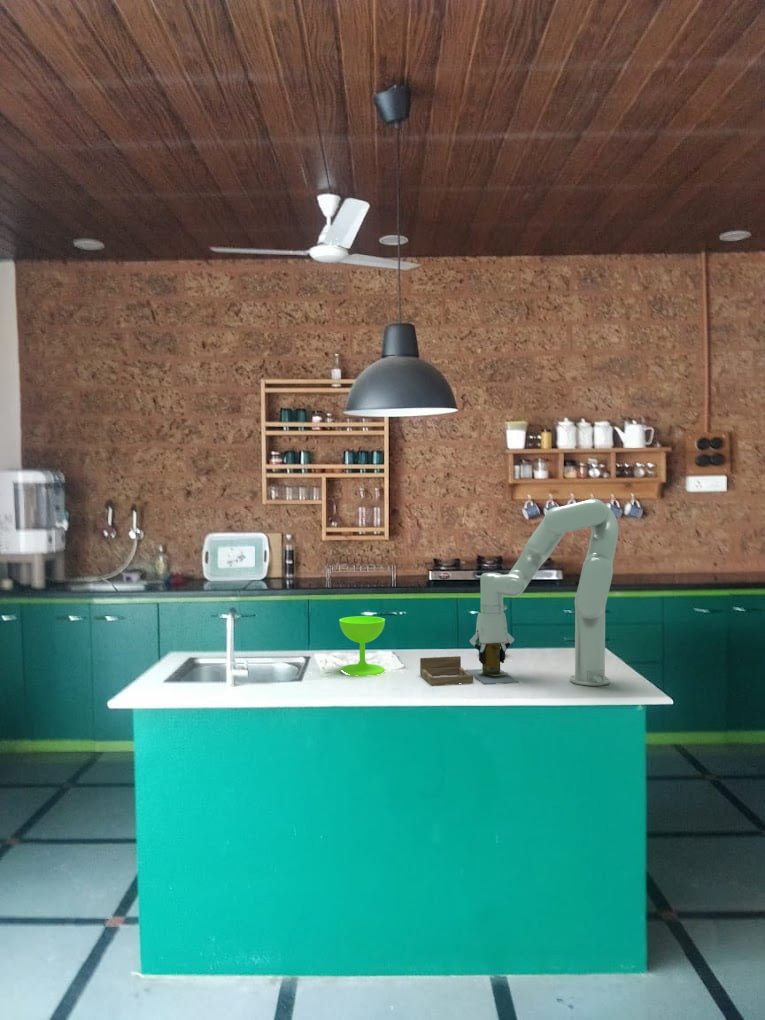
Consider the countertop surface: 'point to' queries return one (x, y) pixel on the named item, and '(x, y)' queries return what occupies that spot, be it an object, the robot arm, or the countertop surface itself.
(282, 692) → the countertop surface
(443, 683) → the holder
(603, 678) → the robot arm
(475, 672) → the mat
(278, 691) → the countertop surface
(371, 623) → the wineglass
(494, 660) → the condiment
